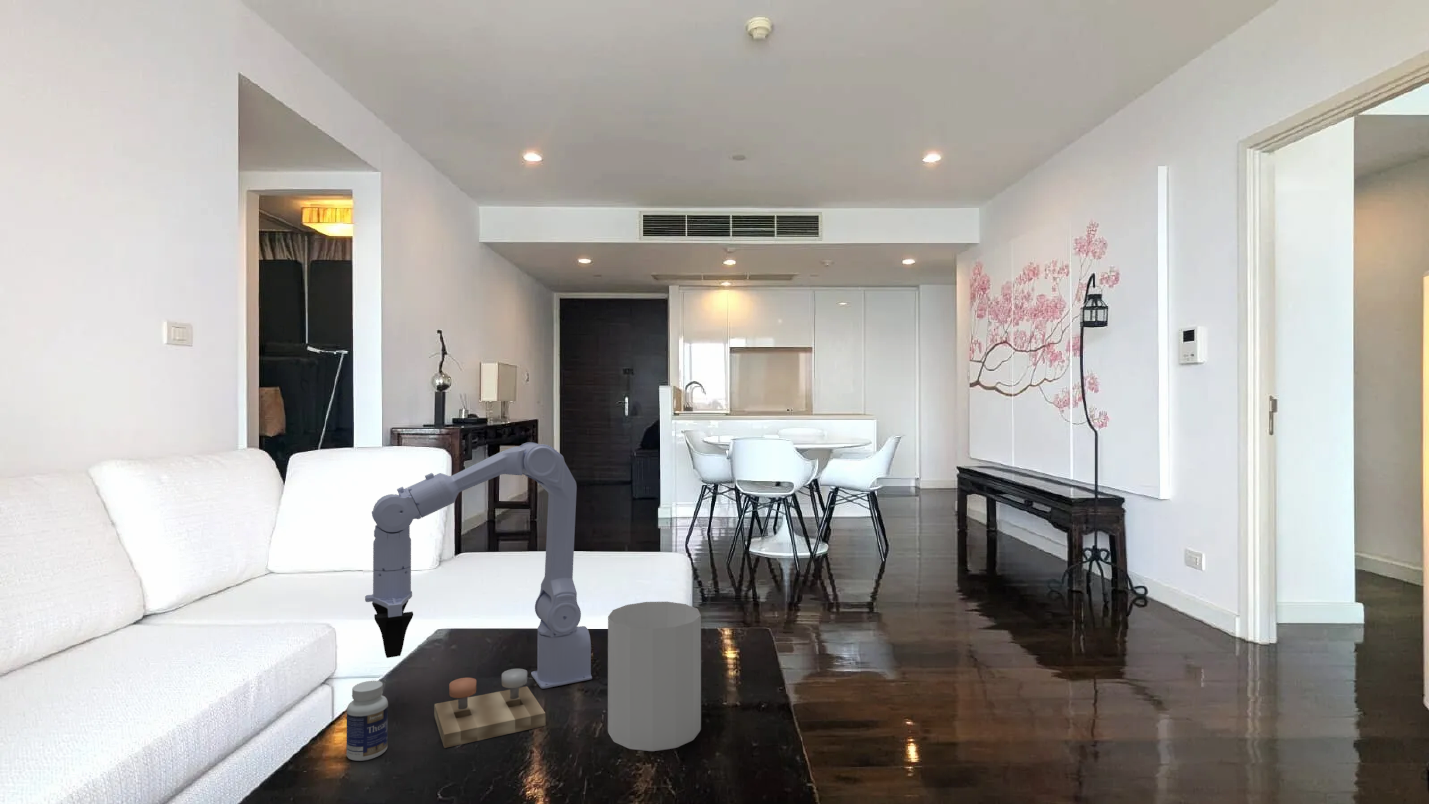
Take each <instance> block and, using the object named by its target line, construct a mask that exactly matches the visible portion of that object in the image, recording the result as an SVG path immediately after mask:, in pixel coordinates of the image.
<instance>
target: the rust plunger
mask: <svg viewBox="0 0 1429 804" xmlns="http://www.w3.org/2000/svg"><path fill="white" fill-rule="evenodd" d="M448 686H449V689H448V690H449V696H450V698H454V699H457V700H458V709H466V708H467V707H468V697H472V696H474V695H475V694H476V693H477V679H476V678H473V677H460V678H456V679H454V680H452V681H450V683H449V685H448Z"/></svg>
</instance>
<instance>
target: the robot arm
mask: <svg viewBox="0 0 1429 804" xmlns="http://www.w3.org/2000/svg"><path fill="white" fill-rule="evenodd" d="M501 475H510V476H523V475H524V477H528V478H530V479H532V480H534V481H535V482H537V484H538V485H539V486H541V488H543V489H544V490H545V491H546V492H547V495H548V499H547V520H546V522H547V523H546V541H545V542H546V543H545V562H544V563H545V564H544V577H543V579H542V582H541V584H540V591H539V594H538V596H537V598H536V600H535V604H534V612H535V615H536V616H537V617H538V619H540V622H539V625H538V626H537V651H536V652H537V655H536V656H537V658H536V659H537V666H536V667H537V670H534V671H531V673H530V675H531V677H532V678H533V679H534V681H535V682H536V683H537V685H538V686H539V688H540V689H548V688H553V687H554V688H555V687H558V686H559V687H560V686H564V685H568V684H569V685H570V684H574V683H579V682H585V681H589V680H592V679H593V676H592V674H591V673H592V663H591V662H592V661H591V659H592V655H591V653H592V651H591V650H592V644H591V643H592V641H591V635H590V631H589V629H588V628H587V626H583V625H581V626H580V625H579V623H580V622H581V619H582V618H581V617H582V612H581V611H582V610H581V608H580V606H579V604H578V599H577V598H578V596H577V595H578V593H577V590H576V589H577V588H576V585H575V583H574V582H575V581H574V579H573V577H574V575H573V574H574V557H575V556H574V554H575V553H574V552H575V530H576V528H575V527H576V513H577V512H576V510H577V509H576V506H577V492H578V491H577V489H578V487H577V481H576V480H575V478H574V476H573V474H572V473H571V470H570V469H569V467H568V465H567V463H566V462H565V458H564V456H563V454H561V453H560V452H559V451H557V450H556V449H555V448H554V447H552V446H551V445H549V444H545V443H541V444H540V443H537V442H532V441H531V442H530V441H529V442H525V443H521V445H519V446H514V447H509V448H507V449H504V450H503V451H500V452H497V453H496V454H492V455H491V456H489V457H487V458H485V459H483V460H481V461H479V462H477V463H475V464H473V465H471V466H468V467H467V468H464V469H462V470H460V471H459V472H456V473H454V474H452V475H448V474H444V473H442V472H439V473H437V474H434V472H433V473H432V472H431V473H428V474H426V475H424V479H423V480H421V481H419V482H416V483H414V484H412V485H410V486H407V487H405V488H404V487H403V486H401V487H398V488H397V489H396V491H397V492H398V494H394V493H391V494H386V495H384V496H382V497H380V498H379V499H378V500H377V501H376V502H375V503H374V506H373V508H372V511H371V516H372V519H373V521H374V522H375V524H376V525H375V526H374V530H373V536H374V540H373V543H372V544H373V545H372V546H373V548H372V549H373V551H372V553H373V554H372V557H373V558H372V559H373V561H372V569H373V570H372V573H373V574H372V578H373V579H372V583H373V584H372V591H373V592H372V594H367V595H365V596H364V598H365V599H364V600H365V601H364V602H366V603H371V605H372V607H373V609H374V611H375V612H376V613H375V614H374V616H373V617H374V620H375V622H376V625H377V626H378V628H379V631H380V634H381V638H382V639H381V640H382V644H383V649H384V654H385V657H386V658H387V659H389V658H395V657H401V654H402V651H403V649H404V648H403V647H404V643H405V638H406V633H407V630H408V627H409V625H410V623H411V621H412V619H413V617H414V612H413V611H407V612H405V609H406V607H407V605H408V602H409V600H410V599H412V597H413V591H412V539H411V535H410V534H411V533H410V531H411V530H410V527H411V524H412V523H413V521H414V520H420V519H423V518H425V517H427V516H429V515H431V514H433V513H436V512H437V511H440V510H442V509H445V508H446V507H448V506H450V505H453V504H455V502H456V499H457V497H458V496H459V494H460V493H461V492H464V491H465V490H468V489H471V488H473V487H475V486H478V485H479V484H482V483H484V482H487V481H490V480H492V479H494V478H496V477H497V478H498V477H499V476H501ZM578 625H579V626H578Z"/></svg>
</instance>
